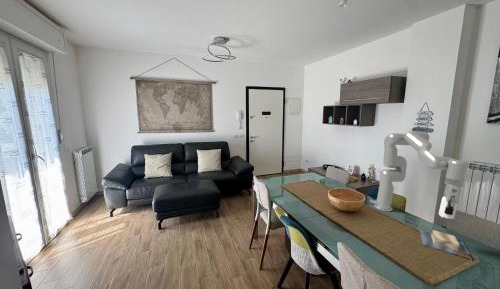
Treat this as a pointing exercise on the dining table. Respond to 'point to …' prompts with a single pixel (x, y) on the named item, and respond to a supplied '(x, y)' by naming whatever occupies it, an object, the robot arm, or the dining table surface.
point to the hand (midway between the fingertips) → (447, 211)
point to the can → (442, 209)
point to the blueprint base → (430, 243)
